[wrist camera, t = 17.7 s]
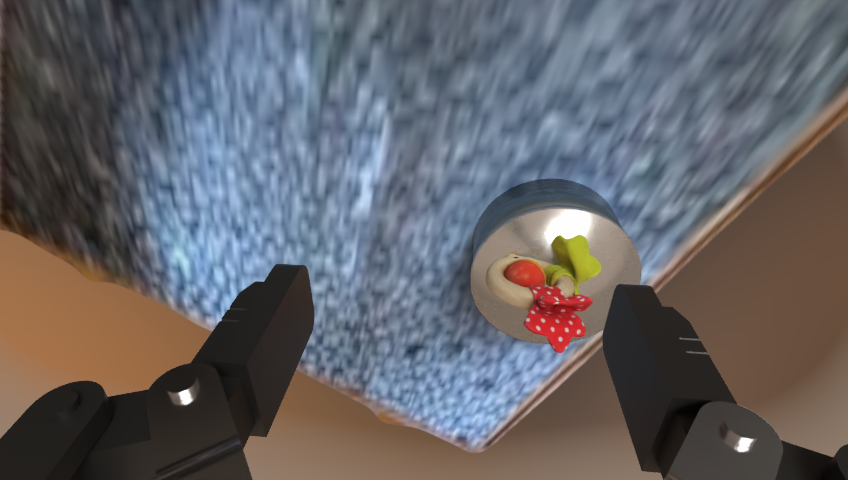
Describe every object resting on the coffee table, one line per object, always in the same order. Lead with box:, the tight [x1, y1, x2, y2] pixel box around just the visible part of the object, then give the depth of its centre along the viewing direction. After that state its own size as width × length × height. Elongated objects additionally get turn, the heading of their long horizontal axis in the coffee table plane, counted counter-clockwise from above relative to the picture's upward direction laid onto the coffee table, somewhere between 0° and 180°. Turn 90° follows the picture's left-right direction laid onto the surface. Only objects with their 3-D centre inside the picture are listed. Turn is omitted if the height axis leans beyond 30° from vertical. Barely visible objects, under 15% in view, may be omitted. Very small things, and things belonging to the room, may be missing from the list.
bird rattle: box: [486, 235, 601, 353], centre depth 38 cm, size 6×11×9 cm
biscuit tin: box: [470, 179, 641, 344], centre depth 46 cm, size 15×15×7 cm
